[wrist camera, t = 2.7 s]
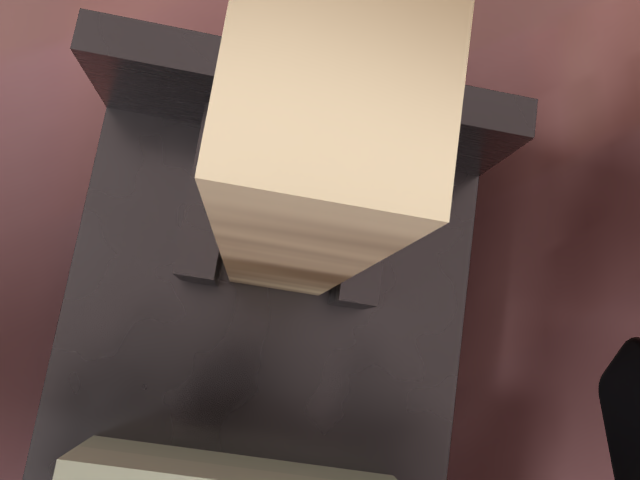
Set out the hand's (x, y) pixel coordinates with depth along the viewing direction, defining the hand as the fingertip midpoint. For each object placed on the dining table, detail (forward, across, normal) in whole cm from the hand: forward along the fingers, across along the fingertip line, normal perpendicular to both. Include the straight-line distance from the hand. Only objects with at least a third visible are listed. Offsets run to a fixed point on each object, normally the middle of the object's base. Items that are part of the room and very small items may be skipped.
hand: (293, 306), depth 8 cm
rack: (+6, 0, +9) cm, 11 cm away
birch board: (+8, 0, +4) cm, 9 cm away
